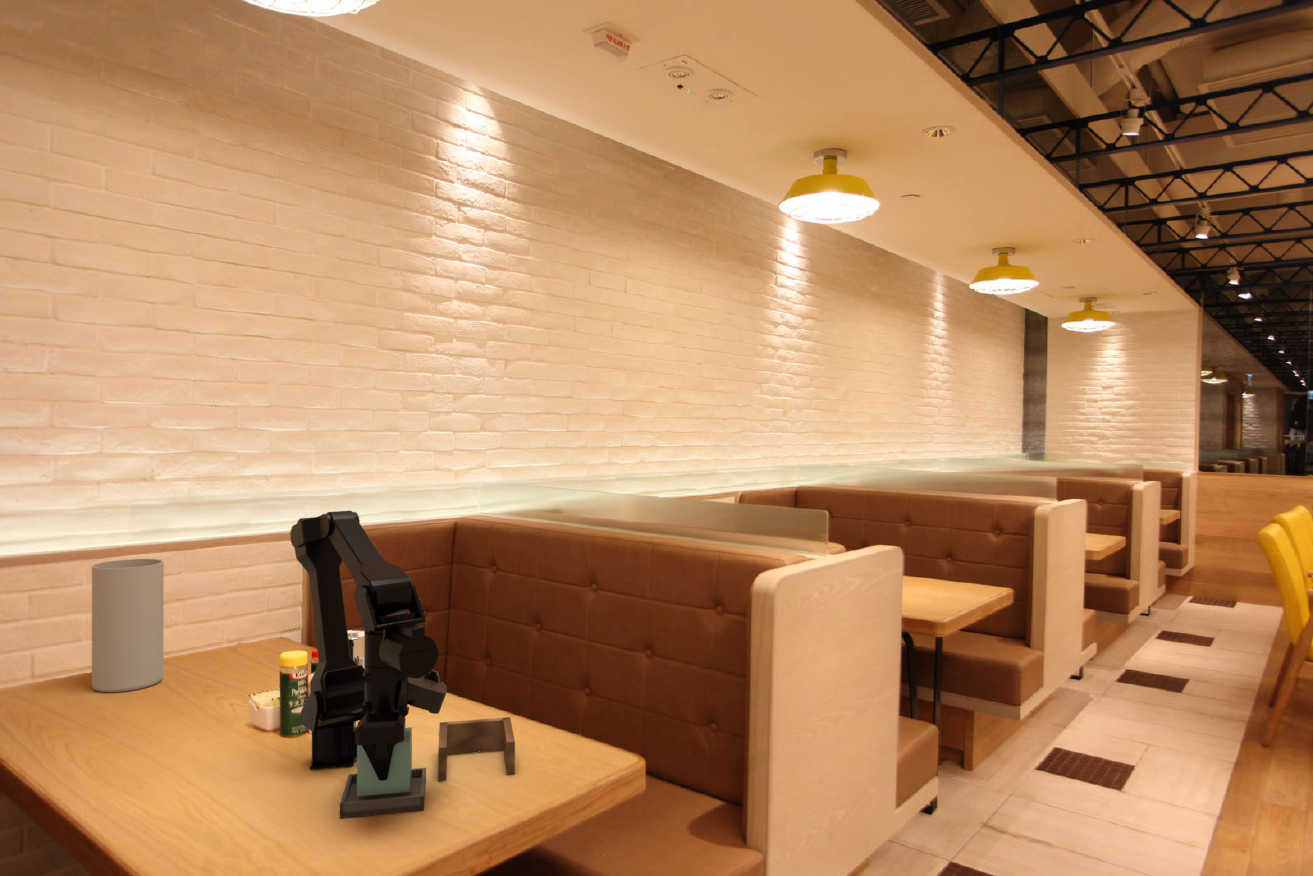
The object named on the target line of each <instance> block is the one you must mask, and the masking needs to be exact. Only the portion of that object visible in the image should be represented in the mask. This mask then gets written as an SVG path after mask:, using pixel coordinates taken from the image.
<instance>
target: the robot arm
mask: <svg viewBox="0 0 1313 876" xmlns="http://www.w3.org/2000/svg"><path fill="white" fill-rule="evenodd" d="M289 537H290V543H291V545H292V547H293V548H294V553H295V558H296V561H298V563H299V564H300V565H301V566H302V567H303V569H304V570H305V571H306V572H307V573H308V578H309V588H310V595H311V604H312V605H311V606H312V613H313V614H312V615H313V621H314V622H313V623H314V631H315V639H316V648H317V657H318V665H317V667H316V669H315V671H314V674H312V678H311V680H310V682H309V683H310V684H309V688H310V689H309V690H310V693H309V694H308V697H307V699H306V700H305V703H304V705H303V706H302V709H301V711H300V715H301V724H302V726H304V727H305V728H306V729H308V730H309V731H311V762H310V764H309V766H308V767H309V768H308V769H309V770H321V769H323V770H324V769H334V768H346V767H352V766H354V765H355V761H356V760H357V745H359V746H361V745H362V747H363V749H364V751H365V753H366V755H367V757H368V759H369V761H370V762H371V765H372V767H373V769H374V771H375V773H376V775H377V777H378V779H379V780H380V781H383V780H387V779H388V773H389V768H390V763H391V758H392V753H393V748H394V746H395V745H396V744H397V743H398V742H402V741H404V738H405V731H406V730H405V728H407V727H406V723H407V722H406V720H407V719H406V716H408V714H409V713H410V712H409V711H410V707H409V706H411V707H414V708H418V709H421V710H425V711H428V712H429V713H430V714H434V715H437V714H439V713H440V712H441V708H442V706H443V703H444V700H445V698H446V695H447V692H448V691H447V689H448V687H447V685H446V684H445V682H444V681H441V682H440V675H439V671H437V670H434V667H435V666H436V664H437V662H438V659H439V649H438V647H437V645H436V642H435V641H434V639H433V638H432V637H430V636H427V635H425V634H426V630H425V629H426V628H425V626H424V625H421V624H424V623H426V617H425V614H424V613H425V611H426V609H425V607H424V604H423V603H422V600H421V598H420V596H419V593H418V592H417V589H416V586H415V584H414V582H413V581H412V579H411V577H410V576H409V575H408V574H407V573H406V572H405V571H404V570H403V569H402V567H400V566H398V565H396V564H394V563H391V562H388V561H386V559H385V558H384V557H383V556H382V555H381V553H380V552H379V550H378V548H377V547H376V545H375V543H374V542H373V541H372V540H371V538H370V536H369V535H368V533H367V532H366V531H365V529H364V528H363V526H362V524H361V523H360V516H359V514H358V513H357V511H353V510H340V511H327V512H326V513H323V514H321V515H319V516H313V517H301V518H299V519H298V520H297V522H296V524H294V525H292V526H291V529H290V535H289ZM342 563H344V565H345V567H346V568H347V570H348V571H349V573H350V575H351V576H352V578H353V580H354V582H355V588H354V592H353V598H354V602H355V606H356V609H357V610H358V613H359V614H360V617H361V619H362V620H361V621H360V627H361V628H363V629H364V631H365V632H364V668H363V666H362V665H357V663H356V662H355V661H354V660H353V659H352V658H351V655H350V648H349V640H348V631H349V630H348V626H347V625H348V624H347V618H346V617H347V615H346V608H345V598H344V592H343V583H342V575H341V565H342ZM408 611H409V612H408ZM418 624H419V625H418ZM408 705H409V706H408Z"/></svg>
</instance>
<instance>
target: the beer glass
mask: <svg viewBox="0 0 1313 876" xmlns="http://www.w3.org/2000/svg"><path fill="white" fill-rule="evenodd" d="M347 631H348V640H349V648H350V655H351V658H352V659H353V660H354V661H355V662H356V663H357V665H362V666H363V668H364V632H365V630H358V629H355V630H347Z"/></svg>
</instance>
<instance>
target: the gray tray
mask: <svg viewBox="0 0 1313 876" xmlns="http://www.w3.org/2000/svg"><path fill="white" fill-rule="evenodd" d="M426 785H427V767H418V768H417V767H416V768H412V776H411V784H410V792H400V793H389V794H378V795H368V796H357V773H349V774H348V775H347V779H346V783H345V786H344V790H343V793H342V796H341V799H340V803H339V819H341V820H342V819H350V818H359V817H371V816H380V815H381V816H382V815H390V814H391V815H392V814H401V813H410V812H420V811H421V812H422V811H424V810H425V809H424V808H425V800H426V799H425V798H426V788H425V787H426Z"/></svg>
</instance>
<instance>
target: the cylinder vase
mask: <svg viewBox="0 0 1313 876" xmlns="http://www.w3.org/2000/svg"><path fill="white" fill-rule="evenodd" d="M163 678H164V560H162V559H156V558H134V559H133V558H132V559H118V560H111V561H103V562H98V563H95V564H92V565H91V687H92V688H93V689H94V690H95V691H98V692H103V693H123V692H131V691H136V690H141V689H146V688H148V687H152V686H154V685H156V684H158V683H159V682H161V681H162V680H163Z"/></svg>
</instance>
